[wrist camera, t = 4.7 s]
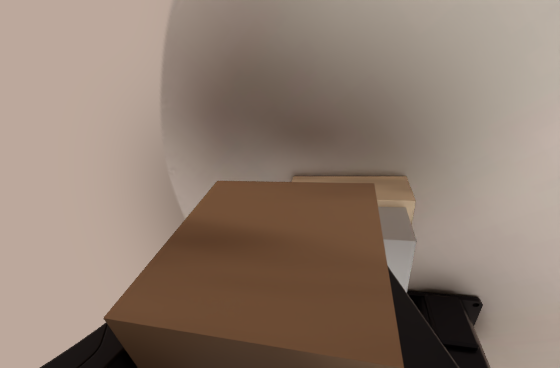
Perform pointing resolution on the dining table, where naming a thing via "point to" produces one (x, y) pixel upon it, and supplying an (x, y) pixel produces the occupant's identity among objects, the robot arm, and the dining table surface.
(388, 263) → the grey block
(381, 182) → the beech base block
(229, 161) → the dining table surface
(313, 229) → the walnut cube
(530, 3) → the dining table surface
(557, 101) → the dining table surface
